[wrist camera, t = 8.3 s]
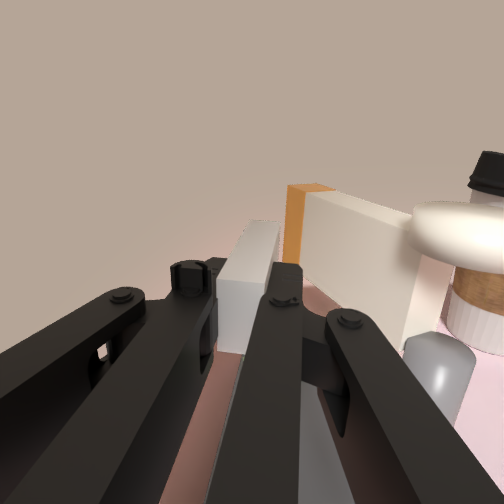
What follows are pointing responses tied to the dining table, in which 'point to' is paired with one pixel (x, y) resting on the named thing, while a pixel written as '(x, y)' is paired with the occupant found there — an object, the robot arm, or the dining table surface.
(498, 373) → the dining table surface
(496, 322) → the coffee cup
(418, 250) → the orange tipped swivel lever
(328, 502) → the tuner board
